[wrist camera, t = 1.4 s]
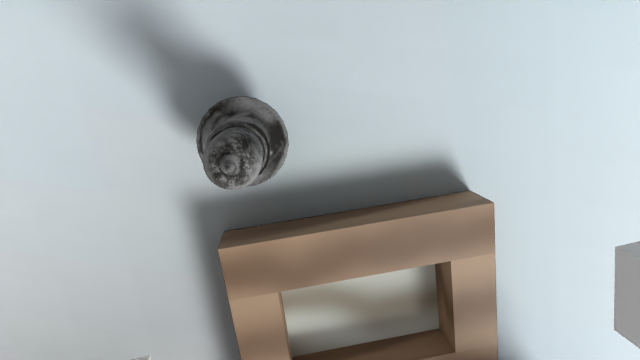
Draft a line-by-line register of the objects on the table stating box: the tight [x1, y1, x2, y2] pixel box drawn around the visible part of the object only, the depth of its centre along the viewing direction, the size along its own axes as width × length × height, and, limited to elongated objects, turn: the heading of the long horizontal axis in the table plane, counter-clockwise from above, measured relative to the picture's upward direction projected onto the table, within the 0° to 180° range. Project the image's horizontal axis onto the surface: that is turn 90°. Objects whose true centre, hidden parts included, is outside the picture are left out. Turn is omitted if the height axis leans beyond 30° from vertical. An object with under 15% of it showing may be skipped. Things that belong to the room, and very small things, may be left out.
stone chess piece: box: [196, 96, 289, 190], centre depth 23 cm, size 6×6×12 cm
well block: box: [218, 191, 498, 360], centre depth 31 cm, size 16×20×4 cm
